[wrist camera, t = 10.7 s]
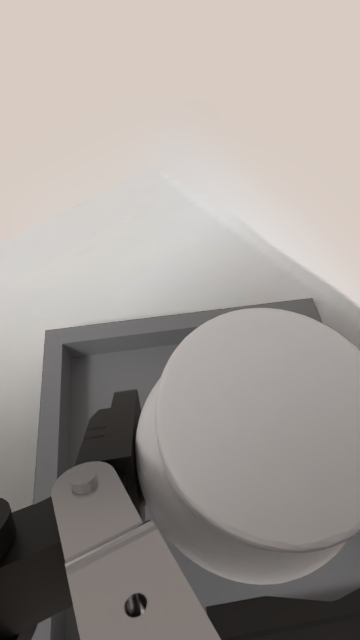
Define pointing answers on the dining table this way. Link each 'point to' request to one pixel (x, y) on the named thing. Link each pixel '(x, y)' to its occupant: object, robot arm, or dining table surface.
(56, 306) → the dining table surface
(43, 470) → the tray
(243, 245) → the dining table surface
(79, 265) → the dining table surface
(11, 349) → the dining table surface
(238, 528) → the supplement bottle
